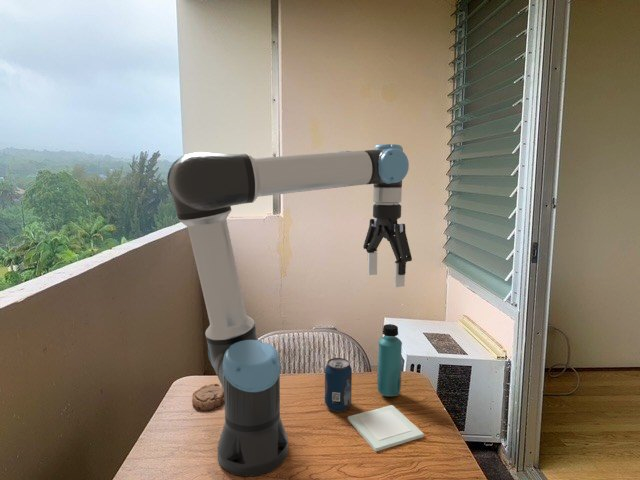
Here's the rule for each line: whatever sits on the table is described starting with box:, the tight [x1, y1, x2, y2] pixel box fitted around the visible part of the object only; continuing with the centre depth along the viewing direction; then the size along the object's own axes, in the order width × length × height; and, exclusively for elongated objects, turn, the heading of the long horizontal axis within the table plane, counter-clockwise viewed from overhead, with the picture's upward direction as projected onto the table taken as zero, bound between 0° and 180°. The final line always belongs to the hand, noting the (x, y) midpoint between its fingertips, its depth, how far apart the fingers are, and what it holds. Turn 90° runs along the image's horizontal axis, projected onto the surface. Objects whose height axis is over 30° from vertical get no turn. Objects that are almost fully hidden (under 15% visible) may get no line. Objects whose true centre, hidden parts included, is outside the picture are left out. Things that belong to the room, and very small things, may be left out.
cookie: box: [191, 383, 224, 412], centre depth 110 cm, size 10×11×3 cm
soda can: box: [324, 357, 353, 413], centre depth 107 cm, size 7×7×12 cm
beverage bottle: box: [376, 323, 403, 397], centre depth 112 cm, size 6×7×20 cm
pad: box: [347, 404, 425, 453], centre depth 99 cm, size 13×13×1 cm
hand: (384, 280), depth 114 cm, fingers open, 13 cm apart
